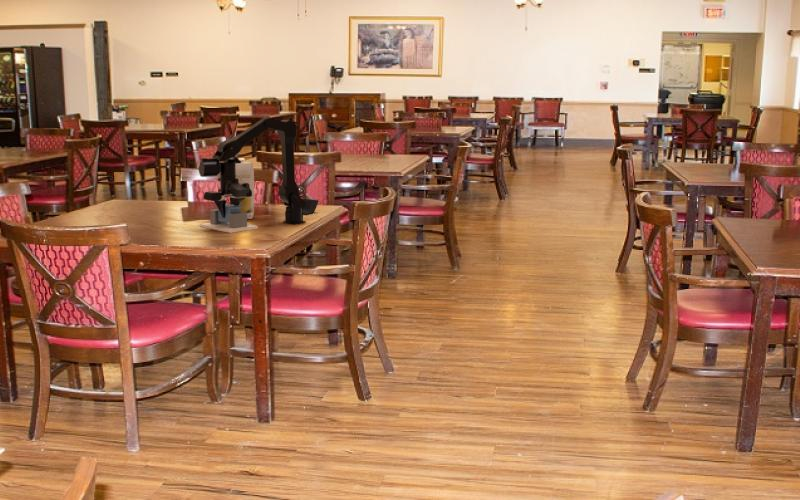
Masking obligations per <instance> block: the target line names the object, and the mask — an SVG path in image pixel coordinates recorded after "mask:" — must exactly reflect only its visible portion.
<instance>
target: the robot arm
mask: <svg viewBox="0 0 800 500" xmlns="http://www.w3.org/2000/svg"><path fill="white" fill-rule="evenodd" d="M267 130H273V131H276V133H277V138H278V139H279V142H280V145H281V163H282V165H281V167H282V183H281V184H279V185H277V189H278V193H277V196H279V199H280V201H282V202H283V204H284V206H285V211H284V214H285V215H284V216H285V218H284V220H283V223H286V224H291V225H292V224H293V225H297V224H301V223H302V224H303V223H306V222H307V221H306V220H304V215H303V208H305V204H306V202H305V201H304V200H303V199H304V198H302V197H301V194H300V190H299V189H300V188H299V186H298V184H297V181H296V173H295V172H296V170H295V167H296V166H295V149H294V144H295V141H296V138H297V133H298V125H297V123H295V121H293V120H287V119H282V120H277V119H274V118H271V117H268V116H264V117H261V119H260V120H259V121H257V122H255V123H254V124H252V125H251V126H249V127H248V128H247V129H245V130H244V131H241V132H240V133H239V134H238V135H235V136H234V137H229V138H227V139H225V140H223V141H220V143H218V145H217V150H216V151H215V153H214V154H213V156H212V157H211V158H210V157H209V158H206V157H200V162H199V165H198V173H199V175H200V177H202V178H205V177H218V175H219V177H218V178H217V181H218V182H220V183H219V184H220V186H219V187H220V188H217V191H214V190H211V191H209V190H208V191H205V192H204V193H203V200H206V201H212V202H213V203H214V205H215V204H216V206H215V207H216V208H217V209H219V211H220V213H221V215H222V217H223V218H225V204H227V203H228V199H227V200H226V198H229V204H232V205H237V206H239V204H240V202H241V201H242V200H244V199H245V198H243V197H251V196H252V191H251V189H250V185H249V184H248V183H244V184H239V180H238V179H237V178H236V163H241V161H240V160H239V158H238V156H237V155H238V154H239V153H240V152H241V151H242V149H243V148H244V147H245V146H246V145H247V144H249V143H250V142H251V141H253V140H254V139H256V138H257V137H258V136H260V135H261V134H263V133H264V132H266V131H267ZM230 196H232V197H230Z"/></svg>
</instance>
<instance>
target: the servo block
mask: <svg viewBox="0 0 800 500" xmlns="http://www.w3.org/2000/svg"><path fill="white" fill-rule="evenodd" d="M214 206H215V207H217V206H216V204H215V203H214ZM239 208H243V206H237V205H232V204H230V203H226V204H225V218H223V217H222V215H221V213H220V211H219V209H218V208H217V209H218V221H222V222H228V223H229V213H236V212H239Z"/></svg>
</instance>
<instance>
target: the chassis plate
mask: <svg viewBox="0 0 800 500" xmlns="http://www.w3.org/2000/svg"><path fill="white" fill-rule="evenodd" d="M209 212H210V214H209V215H210V219H209V220H210V221H209V222H205V223H199V227H200V228H204V229H210V230H214V231H220V232H224V233H230V234H232V233H238V232H245V231H252V230H257V229H259V227H258V225H255V224H250V223H249V224H248V219H247V213H246V212H236V213H229V223H228V222H222V221H218V208H217V209H216V208H214V209H210V210H209Z"/></svg>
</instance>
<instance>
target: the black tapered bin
mask: <svg viewBox="0 0 800 500" xmlns="http://www.w3.org/2000/svg"><path fill="white" fill-rule="evenodd" d="M302 199H303V200H304V201H305V202H306V204H305V208H303V216H309V214H310V215H313V213H314V214H315V212H316V208H317V206H318V204H319V200H318V199H309V198H302Z"/></svg>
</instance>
